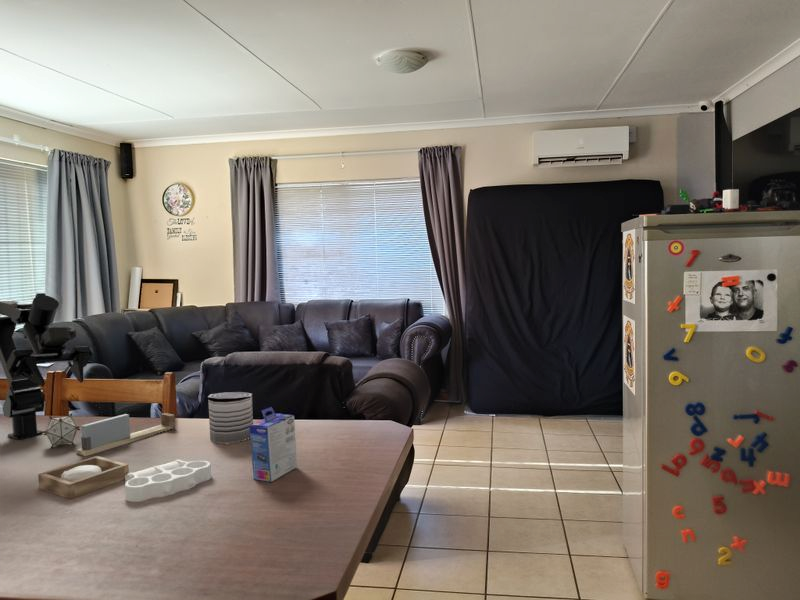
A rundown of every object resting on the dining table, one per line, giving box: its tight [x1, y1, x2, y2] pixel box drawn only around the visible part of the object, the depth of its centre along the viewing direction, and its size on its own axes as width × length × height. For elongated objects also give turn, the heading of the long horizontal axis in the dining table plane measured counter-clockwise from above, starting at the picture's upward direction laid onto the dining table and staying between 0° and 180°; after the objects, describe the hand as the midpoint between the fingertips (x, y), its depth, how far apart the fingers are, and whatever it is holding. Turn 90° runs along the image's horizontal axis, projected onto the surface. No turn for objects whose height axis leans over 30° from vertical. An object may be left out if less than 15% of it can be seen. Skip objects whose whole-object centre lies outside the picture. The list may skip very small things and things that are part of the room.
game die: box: [42, 412, 81, 449], centre depth 153 cm, size 9×8×10 cm
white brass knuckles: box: [124, 459, 212, 503], centre depth 125 cm, size 3×18×15 cm
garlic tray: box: [37, 455, 130, 500], centre depth 127 cm, size 12×13×3 cm
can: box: [207, 391, 254, 444], centre depth 157 cm, size 11×11×12 cm
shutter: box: [80, 413, 131, 450], centre depth 151 cm, size 2×12×6 cm, turn 148°
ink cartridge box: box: [249, 406, 298, 483], centre depth 130 cm, size 10×6×14 cm, turn 155°
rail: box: [75, 412, 176, 457], centre depth 156 cm, size 4×26×4 cm, turn 148°
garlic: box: [60, 465, 102, 482], centre depth 127 cm, size 8×7×4 cm
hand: (63, 383), depth 145 cm, fingers open, 9 cm apart
